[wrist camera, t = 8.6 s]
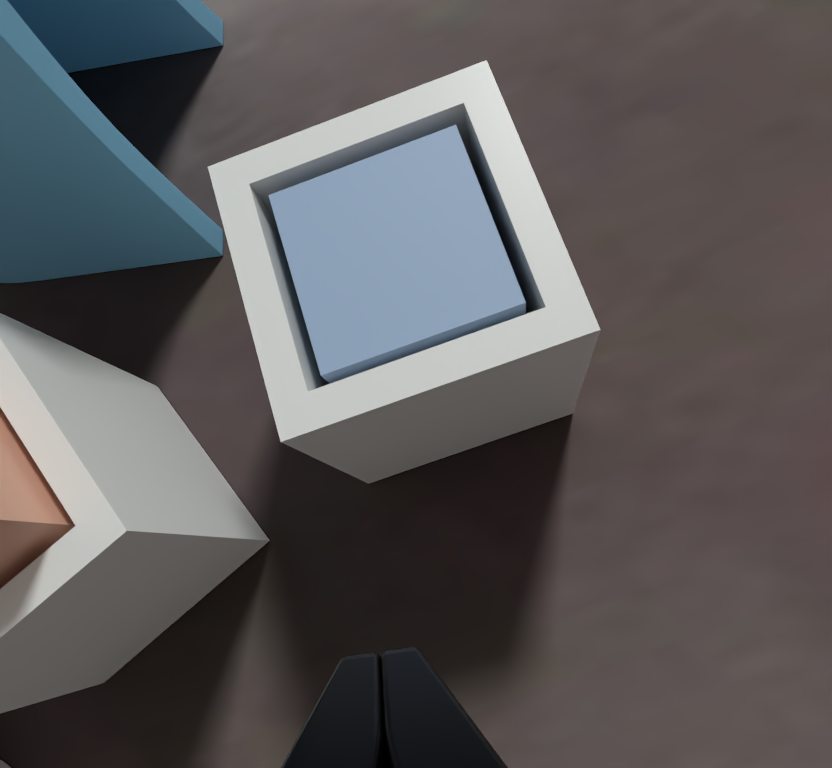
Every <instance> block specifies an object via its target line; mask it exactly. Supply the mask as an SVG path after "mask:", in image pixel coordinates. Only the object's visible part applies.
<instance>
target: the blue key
mask: <svg viewBox="0 0 832 768" xmlns="http://www.w3.org/2000/svg"><path fill="white" fill-rule="evenodd" d="M268 196H269V199H270V203H271V206H272V209H273V213H274V216H275V220H276V223H277V227H278V230H279V234H280V237H281V241H282V244H283V247H284V251H285V254H286V258H287V261H288V265H289V268H290V272H291V275H292V278H293V282H294V285H295V289H296V292H297V296H298V299H299V303H300V306H301V309H302V313H303V316H304V320H305V323H306V327H307V330H308V334H309V337H310V340H311V344H312V347H313V351H314V354H315V358H316V361H317V365H318V368H319V371H320V375H321V376H322V377H323V378H324V379H325V380H326V381H327V382H328V383H333V382H336V381H339V380H342V379H345V378H347V377H350V376H353V375H356V374H359V373H361V372H364V371H367V370H370V369H373V368H376V367H378V366H381V365H384V364H387V363H390V362H392V361H395V360H398V359H401V358H404V357H406V356H409V355H412V354H415V353H418V352H421V351H423V350H426V349H429V348H432V347H435V346H437V345H440V344H443V343H446V342H449V341H452V340H454V339H457V338H460V337H463V336H466V335H468V334H471V333H474V332H477V331H480V330H482V329H485V328H488V327H491V326H494V325H497V324H499V323H502V322H505V321H508V320H511V319H513V318H516V317H519V316H522V315H525V314H526V301H525V299H524V296H523V294H522V291H521V289H520V286H519V284H518V281H517V279H516V276H515V274H514V271H513V268H512V266H511V263H510V261H509V258H508V256H507V253H506V251H505V248H504V246H503V243H502V240H501V238H500V235H499V233H498V230H497V228H496V225H495V223H494V220H493V218H492V215H491V213H490V210H489V207H488V205H487V202H486V200H485V197H484V195H483V192H482V190H481V187H480V185H479V182H478V179H477V177H476V174H475V172H474V169H473V167H472V164H471V162H470V159H469V157H468V154H467V152H466V149H465V146H464V144H463V141H462V139H461V136H460V134H459V131H458V129H457V126H456V125H454V126H451V127H448V128H446V129H443V130H440V131H438V132H435V133H432V134H430V135H427V136H424V137H422V138H419V139H416V140H414V141H411V142H408V143H406V144H403V145H401V146H398V147H395V148H393V149H390V150H387V151H385V152H382V153H379V154H377V155H374V156H371V157H369V158H366V159H363V160H361V161H358V162H355V163H353V164H350V165H347V166H345V167H342V168H339V169H337V170H334V171H332V172H329V173H326V174H324V175H321V176H318V177H316V178H313V179H310V180H308V181H305V182H302V183H300V184H297V185H294V186H292V187H289V188H286V189H284V190H281V191H278V192H276V193H273V194H270V195H268Z"/></svg>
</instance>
